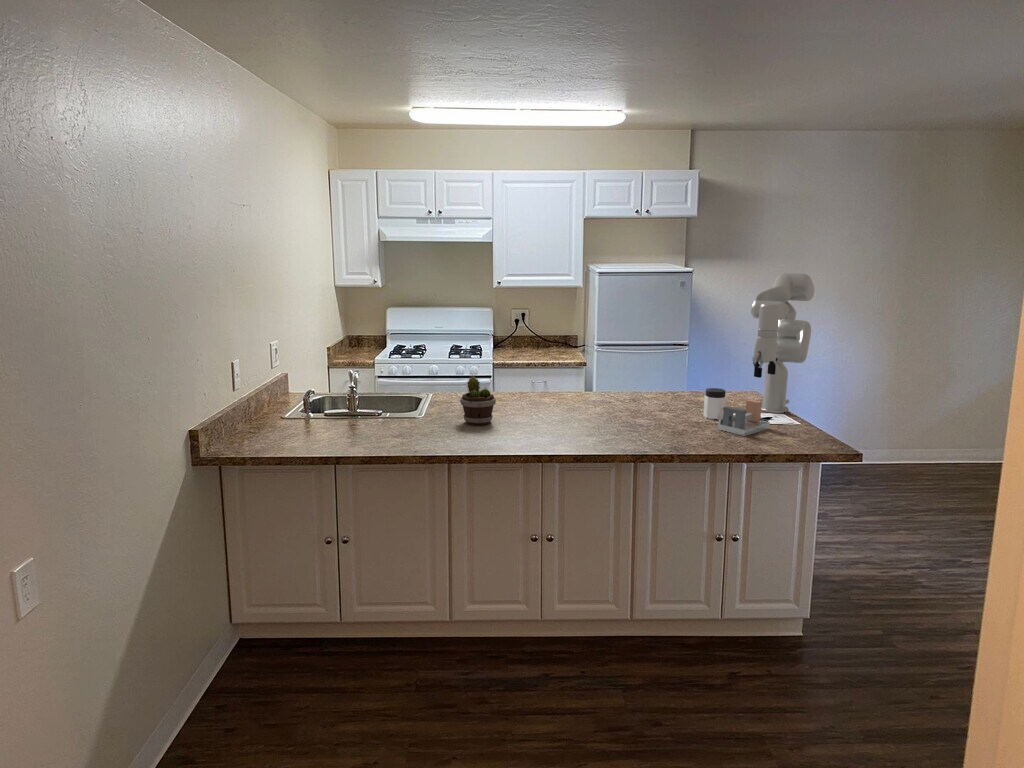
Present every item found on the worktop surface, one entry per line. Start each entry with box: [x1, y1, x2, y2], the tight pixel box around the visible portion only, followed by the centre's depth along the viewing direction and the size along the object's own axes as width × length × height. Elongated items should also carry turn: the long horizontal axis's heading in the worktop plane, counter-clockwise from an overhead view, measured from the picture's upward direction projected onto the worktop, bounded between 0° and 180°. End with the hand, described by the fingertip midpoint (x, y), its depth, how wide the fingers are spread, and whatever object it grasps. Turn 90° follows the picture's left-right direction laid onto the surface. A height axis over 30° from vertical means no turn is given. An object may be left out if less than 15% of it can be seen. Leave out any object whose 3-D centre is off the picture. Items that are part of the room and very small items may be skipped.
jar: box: [702, 387, 727, 421], centre depth 307 cm, size 9×8×12 cm
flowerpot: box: [459, 373, 497, 426], centre depth 296 cm, size 14×15×20 cm
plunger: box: [734, 399, 770, 422], centre depth 288 cm, size 15×8×8 cm, turn 130°
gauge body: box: [717, 405, 771, 437], centre depth 289 cm, size 18×12×10 cm, turn 130°
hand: (764, 375), depth 294 cm, fingers open, 9 cm apart
